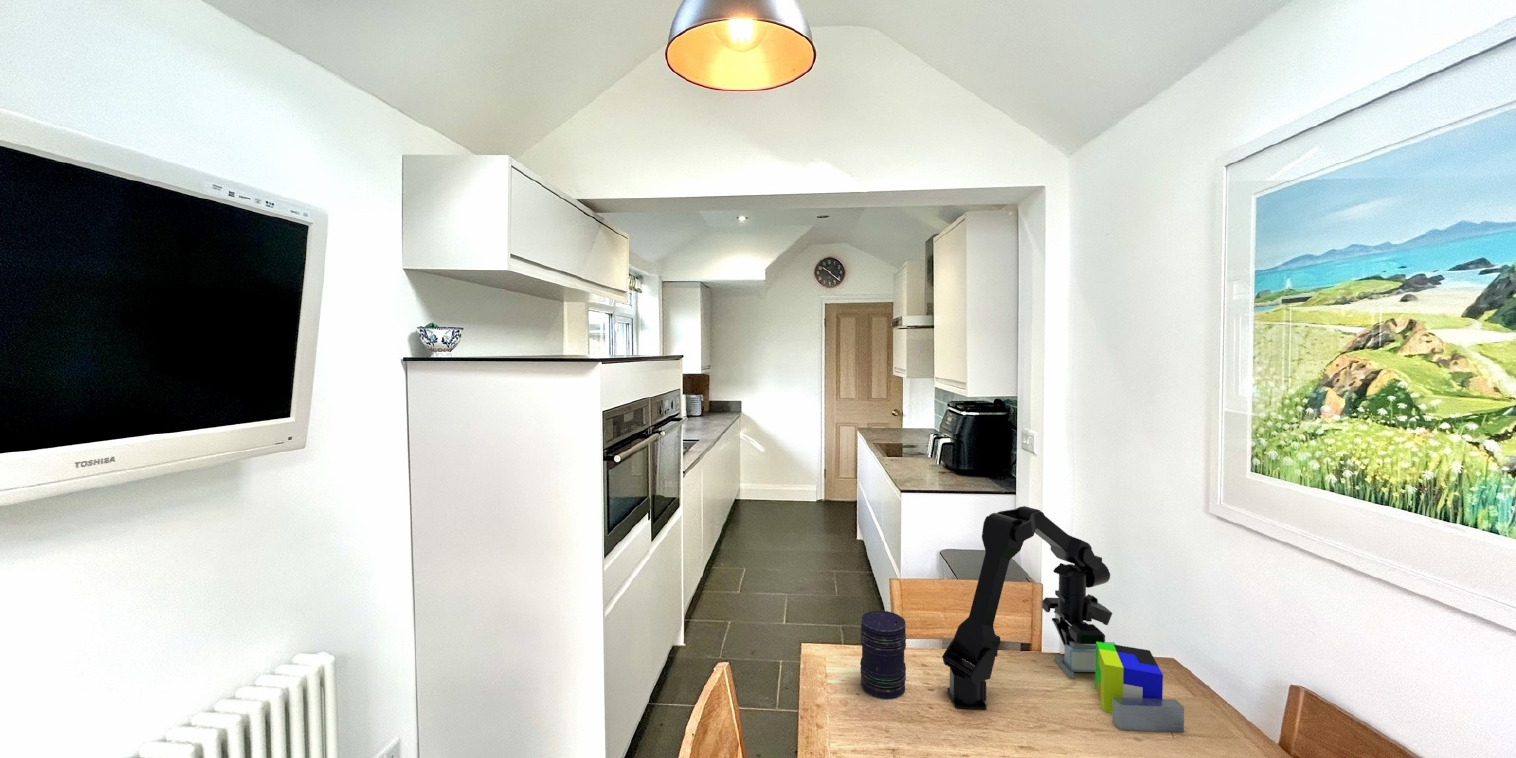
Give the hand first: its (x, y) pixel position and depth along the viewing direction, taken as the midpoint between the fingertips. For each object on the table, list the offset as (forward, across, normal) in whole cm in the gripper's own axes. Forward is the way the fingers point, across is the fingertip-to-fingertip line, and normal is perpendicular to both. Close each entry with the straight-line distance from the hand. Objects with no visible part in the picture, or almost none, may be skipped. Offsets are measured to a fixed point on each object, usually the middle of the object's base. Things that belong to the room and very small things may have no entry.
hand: (1070, 654), depth 134 cm
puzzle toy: (+2, -16, -4) cm, 17 cm away
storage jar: (+2, -13, +47) cm, 49 cm away
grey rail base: (+1, -13, -3) cm, 13 cm away
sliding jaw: (+1, -4, -3) cm, 5 cm away
